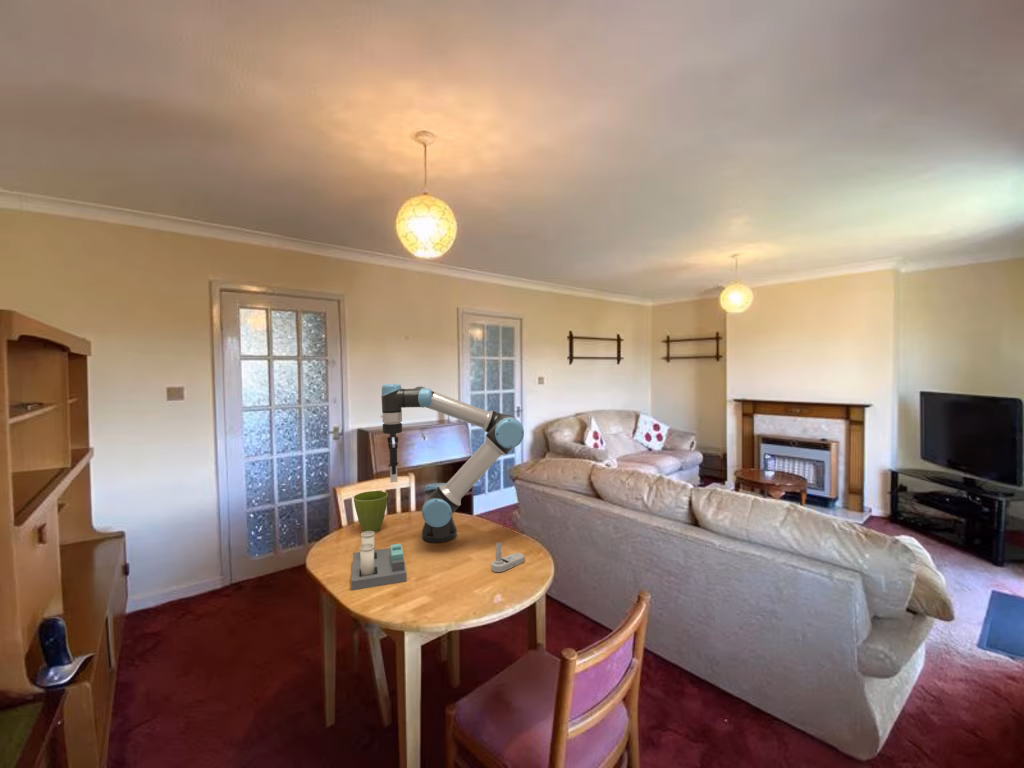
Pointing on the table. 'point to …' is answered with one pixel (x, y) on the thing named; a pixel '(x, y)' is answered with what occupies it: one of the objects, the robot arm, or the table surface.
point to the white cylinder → (368, 538)
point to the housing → (378, 571)
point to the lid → (396, 552)
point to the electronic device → (505, 560)
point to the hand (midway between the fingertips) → (393, 481)
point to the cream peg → (367, 559)
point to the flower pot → (371, 509)
